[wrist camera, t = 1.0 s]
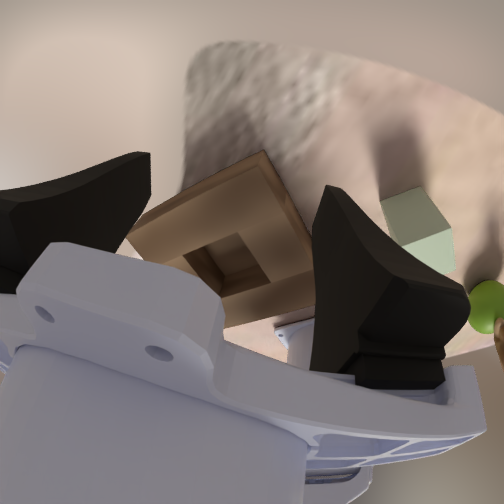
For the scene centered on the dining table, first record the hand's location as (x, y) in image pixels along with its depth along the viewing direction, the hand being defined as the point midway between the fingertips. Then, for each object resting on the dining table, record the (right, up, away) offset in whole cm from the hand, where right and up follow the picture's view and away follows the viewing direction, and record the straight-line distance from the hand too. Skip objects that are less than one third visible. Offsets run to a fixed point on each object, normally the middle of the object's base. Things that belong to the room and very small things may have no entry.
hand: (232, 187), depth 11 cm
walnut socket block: (-1, -2, +13) cm, 14 cm away
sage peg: (+13, +1, +9) cm, 16 cm away
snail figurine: (+25, -7, +13) cm, 29 cm away
